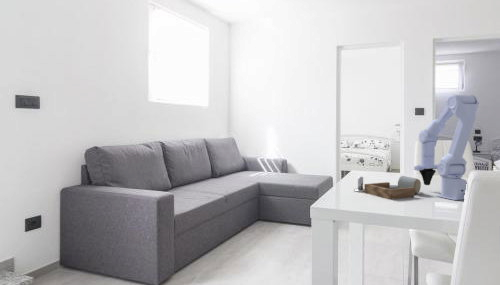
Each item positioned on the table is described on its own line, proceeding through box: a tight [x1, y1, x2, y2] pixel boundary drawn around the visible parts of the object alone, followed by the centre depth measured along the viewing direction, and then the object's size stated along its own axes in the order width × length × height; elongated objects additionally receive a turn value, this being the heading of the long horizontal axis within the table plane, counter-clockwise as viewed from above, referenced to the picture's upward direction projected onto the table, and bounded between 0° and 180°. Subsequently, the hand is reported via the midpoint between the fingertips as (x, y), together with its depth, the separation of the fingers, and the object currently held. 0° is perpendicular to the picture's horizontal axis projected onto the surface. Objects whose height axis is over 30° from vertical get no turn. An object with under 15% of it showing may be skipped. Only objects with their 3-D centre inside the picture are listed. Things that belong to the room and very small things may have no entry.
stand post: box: [353, 176, 364, 193], centre depth 172 cm, size 6×6×7 cm
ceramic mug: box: [397, 175, 422, 195], centre depth 168 cm, size 11×8×8 cm
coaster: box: [390, 184, 398, 189], centre depth 180 cm, size 9×9×1 cm
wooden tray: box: [363, 181, 415, 200], centre depth 163 cm, size 16×14×4 cm
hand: (426, 184), depth 172 cm, fingers closed
